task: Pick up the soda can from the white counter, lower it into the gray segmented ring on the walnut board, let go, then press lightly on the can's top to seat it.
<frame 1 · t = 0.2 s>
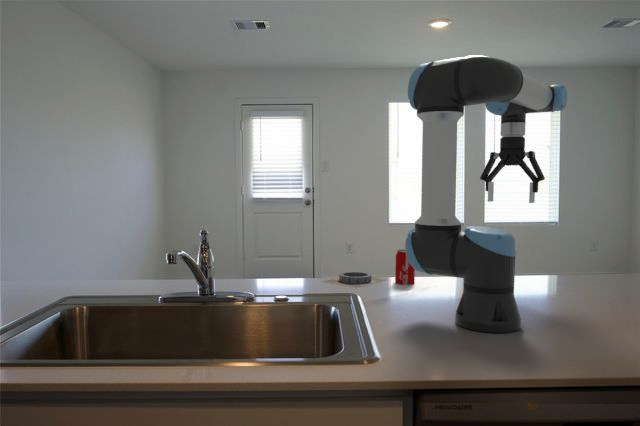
hand: (510, 202, 171), 28 cm above the countertop, fingers open, 13 cm apart
gray segmented ring: (355, 280, 172), resting on walnut base board
walnut base board: (355, 284, 173), on the countertop
soda can: (404, 287, 170), on the countertop
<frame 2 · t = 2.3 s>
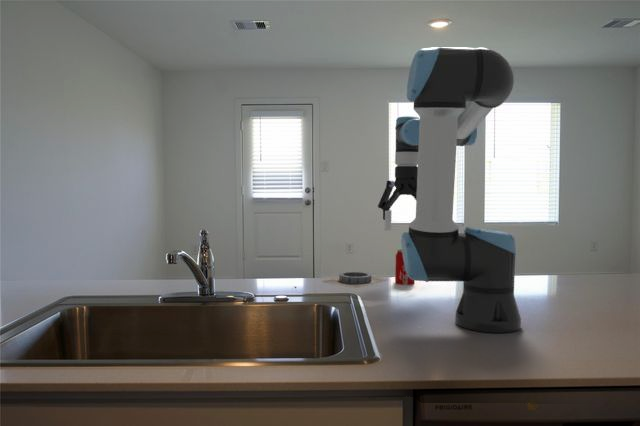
hand: (405, 231, 169), 18 cm above the countertop, fingers open, 13 cm apart
nothing on the countertop moved.
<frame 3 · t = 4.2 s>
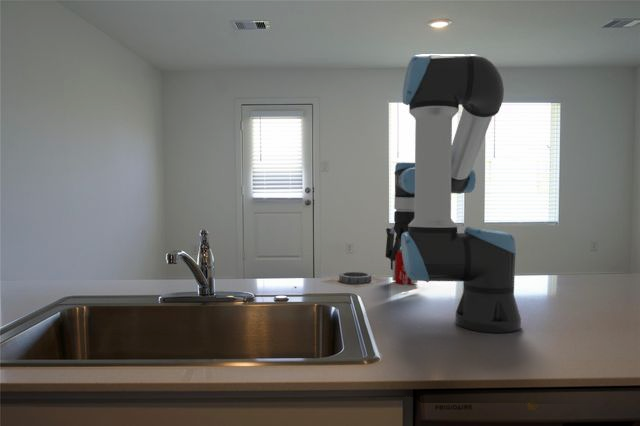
hand: (404, 281, 169), 2 cm above the countertop, fingers closed on soda can, 6 cm apart
soda can: (404, 287, 170), on the countertop, touching gripper
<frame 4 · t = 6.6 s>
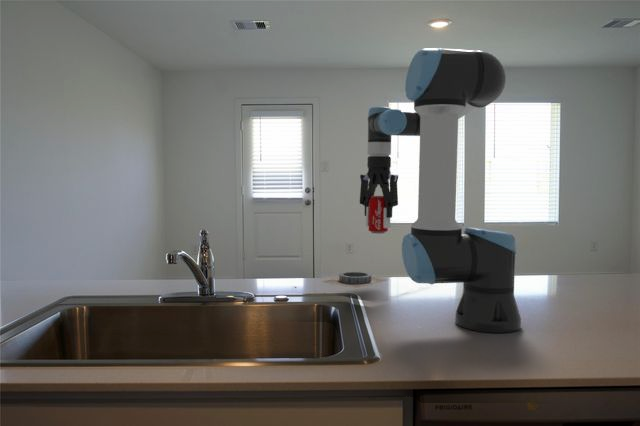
hand: (377, 226, 170), 19 cm above the countertop, fingers closed on soda can, 6 cm apart
soda can: (378, 233, 171), point 17 cm above the countertop, touching gripper
when the fingers open (5 cm above the countertop, at t = 9.3 s): soda can drops 1 cm, resting on walnut base board.
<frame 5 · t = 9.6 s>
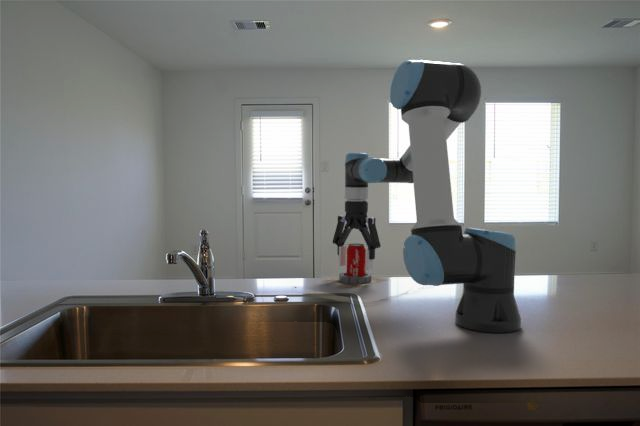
hand: (355, 267, 172), 6 cm above the countertop, fingers open, 10 cm apart
soda can: (355, 281, 172), point 1 cm above the countertop, touching walnut base board
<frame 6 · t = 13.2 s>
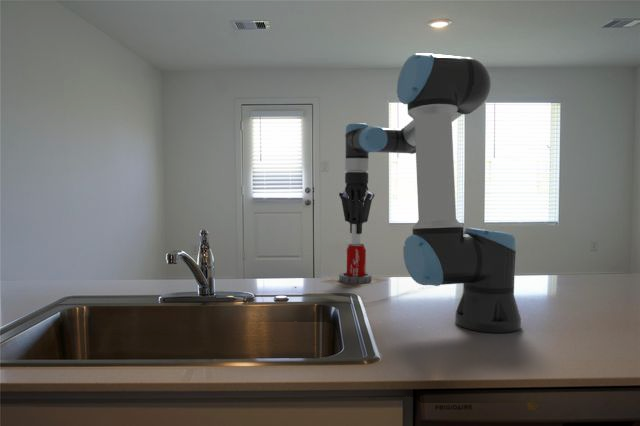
hand: (355, 243, 172), 14 cm above the countertop, fingers closed
soda can: (355, 281, 172), point 1 cm above the countertop, touching gripper, walnut base board
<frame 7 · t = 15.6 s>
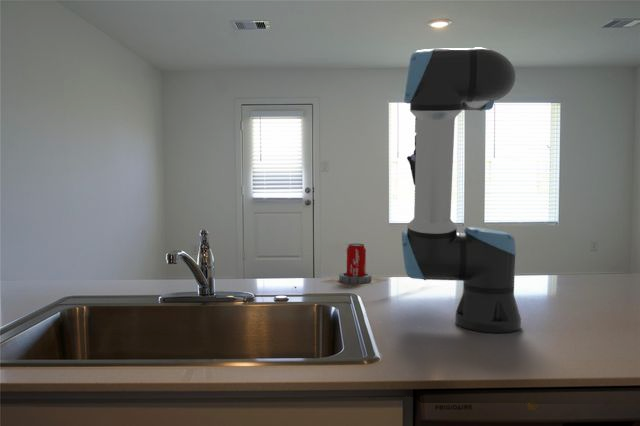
hand: (425, 207, 167), 26 cm above the countertop, fingers closed
soda can: (355, 281, 172), point 1 cm above the countertop, touching walnut base board
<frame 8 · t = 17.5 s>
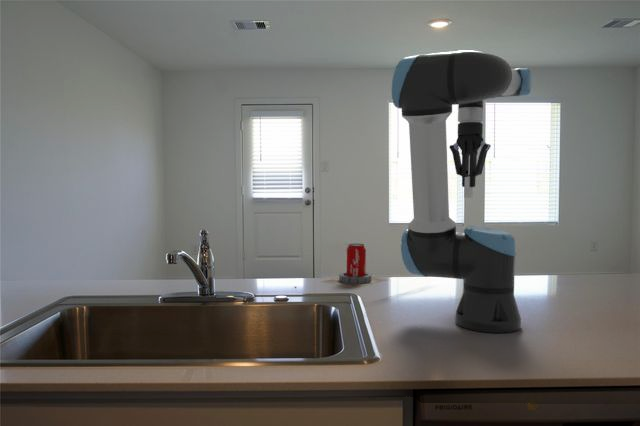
hand: (468, 197, 166), 29 cm above the countertop, fingers closed
nothing on the countertop moved.
at the end: soda can 0.2 cm off-centre on the gray segmented ring, point 0.0 cm above the gray segmented ring's base; soda can tilted 0°; the gripper is holding nothing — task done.
